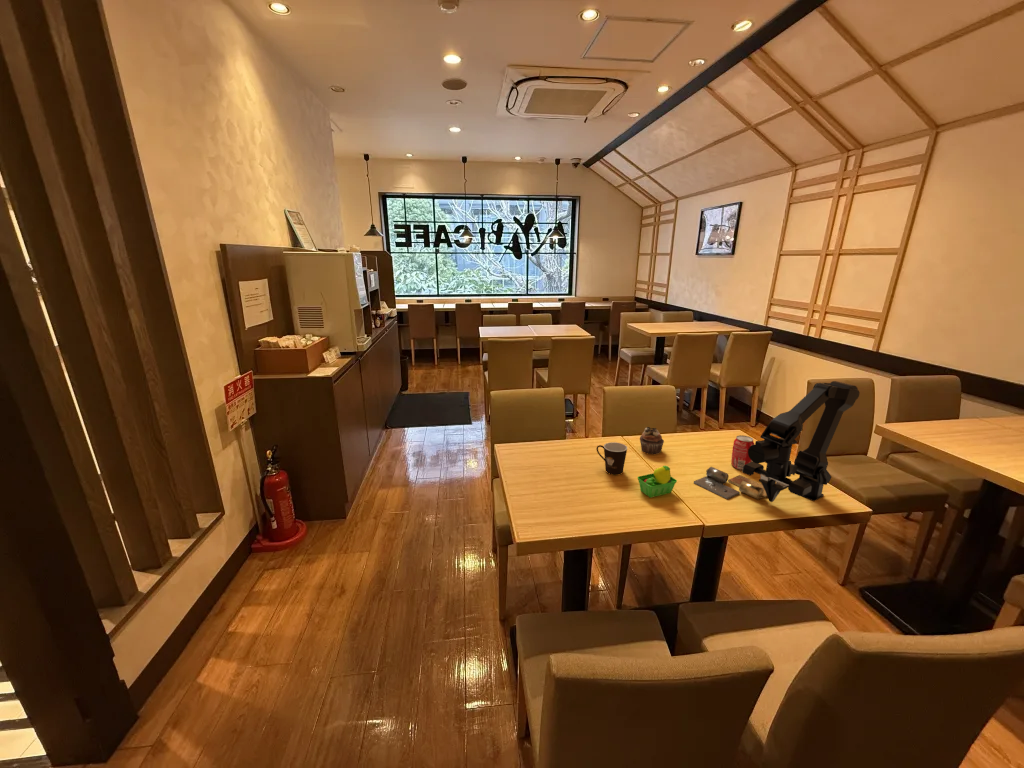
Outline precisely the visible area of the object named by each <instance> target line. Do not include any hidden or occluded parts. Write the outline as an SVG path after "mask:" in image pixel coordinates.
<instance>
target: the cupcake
mask: <svg viewBox="0 0 1024 768" xmlns="http://www.w3.org/2000/svg"><path fill="white" fill-rule="evenodd" d="M662 437H663V436H662V434H661V433H660V432H659V430H658V429H657V428H656V427H655V428H654V427H650V426H647V427H645V428H644V431H643V432H642V434H641V435H640V436H639V442H640V448H641V452H642V453H644V452H645V453H644V454H647V453H648V455H659V454H660V453H661V452H662V449H663V445H664V443H665V441H664V439H663V438H662Z"/></svg>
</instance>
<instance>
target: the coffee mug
mask: <svg viewBox="0 0 1024 768" xmlns="http://www.w3.org/2000/svg"><path fill="white" fill-rule="evenodd" d="M599 448H602V449H603V454H604V456H602V454H601V452H600V451H599ZM595 450H596V452H597V454H598V455H599V457H600V458H601V459H602V460H603V461H604V466H605V467H604V468H605V472H606V471H607V472H608V473H610V474H609V475H611V474H620V475H622V474H623V473H622V472H624V467H625V461H626V458H627V452H628V446H627V445H626V444H623V443H621V442H616V441H614V442H613V441H612V442H606V443H605V444H604V445H601V444H599V445H597V446H596V449H595ZM607 472H606V473H607ZM608 473H607V474H608ZM621 473H622V474H621Z"/></svg>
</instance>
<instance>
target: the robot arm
mask: <svg viewBox="0 0 1024 768" xmlns="http://www.w3.org/2000/svg"><path fill="white" fill-rule="evenodd" d="M859 397H860V390H859V389H858V387H857V385H853V384H849V383H846V382H840V381H837V380H833V381H831V382H830V383H829V382H817V383H815V384H814V385H813V387H812V389H811V390H810V391H809V392H808V393H807V394H806V395H805V396H803V398H802V399H800V400H799V401H798V403H796V404H795V405H794V406H793V407H792V408H791V409H789V411H786V412H783V413H779V414H778V415H776V416H775V417H773V418H772V419H771V420H770V421H769V423H768V425H767V426H765V427H766V428H765V429H764V430H763V432H761V434H760V439H763V440H756V441H755V442H754V445H752V446H750V448H749V449H748V455H749V458H750V459H751V460H752V462H750V463H748V464H745V465H744V466H743V468H742V470H741V471H742V473H743V474H745V475H747V476H749V477H751V476H753V475H754V474H755V473H756V474H758V475H760V478H759V479H758V483H760V484H762V485H763V487H764V489H765V491H766V494H767V497H766V498H767V499H768V502H771V503H773V502H774V501H775V500H776V499H777V497H778V496H779V494H780V492H782V491H784V490H786V489H788V491H789V492H790V493H791V494H794V495H797V496H799V497H803V498H805V499H808V500H810V501H813V502H815V501H817V500H819V499H821V498H823V497H824V495H825V494H823V489H824V485H825V486H827V485H828V484H829V483H830V481H831V480H832V479H831V478H832V475H831V474H830V473H829V471H828V470H827V469H828V465H829V460H828V456H827V452H828V449H829V447H830V444H831V442H832V440H833V437H834V436H835V433H836V430H837V428H838V426H839V424H840V421H841V419H842V416H843V413H844V412H846V411H847V410H849V409H850V408H852V407H853V406H854V405H855V403H856V401H857V400H858V399H859ZM823 405H824V409H823V412H822V414H821V416H820V418H819V421H818V423H817V426H816V428H815V430H814V433H813V435H812V438H811V440H810V442H809V445H808V447H807V448H805V449H804V450H799V451H798V452H797V456H796V458H795V459H794V462H793V463H792V460H790V458H791V453H792V448H793V445H796V444H798V441H797V440H796V438H798V437H799V435H800V433H801V432H802V431H803V427H804V423H805V422H806V420H809V418H810V417H811V416H812V415H813V414H814V413H816V411H817V410H818V409H819V408H821V406H823ZM778 437H779V438H778ZM763 463H766V469H764V468H765V467H764V465H763ZM792 475H793V476H795V475H798V476H799V477H797V479H794V480H792V479H791V478H790V477H791V476H792Z"/></svg>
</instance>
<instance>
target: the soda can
mask: <svg viewBox="0 0 1024 768" xmlns="http://www.w3.org/2000/svg"><path fill="white" fill-rule="evenodd" d="M752 445H755V442H754V438H753V437H751V436H749V435H748V436H747V435H736V438H735V439H734V441H733V445H732V449H731V450H732V452H731V460H730V462H731V463H730V465H731V466H732V467H733V468H734V469H737V470H739V471H742V468H743V466H744V465H745V464H748V463H750V462H752V460H751V459H750V458H749V455H748V449H749V448H750V446H752Z"/></svg>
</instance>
